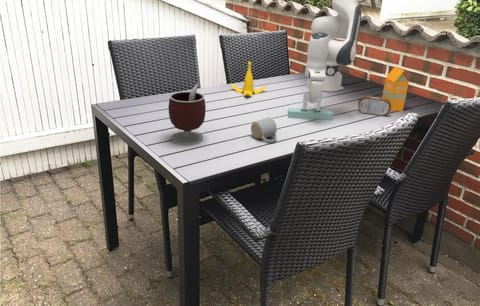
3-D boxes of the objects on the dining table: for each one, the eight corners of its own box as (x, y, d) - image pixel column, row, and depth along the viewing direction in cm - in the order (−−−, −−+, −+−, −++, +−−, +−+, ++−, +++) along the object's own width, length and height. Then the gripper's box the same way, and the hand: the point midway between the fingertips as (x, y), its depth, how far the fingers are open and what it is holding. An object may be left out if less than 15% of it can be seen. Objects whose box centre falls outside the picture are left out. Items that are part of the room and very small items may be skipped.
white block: (302, 109, 190) (304, 93, 187) (302, 108, 192) (303, 92, 189) (320, 110, 190) (322, 94, 187) (319, 109, 192) (321, 93, 188)
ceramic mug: (249, 135, 169) (250, 117, 166) (265, 132, 173) (266, 114, 170) (264, 145, 161) (266, 127, 158) (281, 141, 165) (283, 123, 162)
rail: (287, 114, 195) (288, 107, 194) (330, 116, 194) (331, 110, 193) (288, 117, 190) (288, 111, 189) (332, 120, 190) (333, 113, 189)
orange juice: (394, 105, 214) (402, 66, 206) (403, 110, 206) (411, 70, 198) (380, 105, 213) (387, 66, 205) (388, 111, 205) (396, 70, 197)
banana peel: (246, 99, 213) (248, 67, 206) (230, 89, 228) (231, 58, 221) (274, 96, 220) (277, 64, 213) (256, 87, 235) (258, 57, 228)
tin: (389, 115, 199) (392, 98, 196) (389, 117, 197) (392, 100, 193) (356, 111, 203) (359, 94, 200) (356, 112, 201) (359, 96, 197)
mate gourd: (194, 148, 155) (194, 96, 147) (162, 141, 160) (160, 90, 152) (213, 134, 168) (214, 86, 160) (182, 128, 173) (182, 81, 165)
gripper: (305, 65, 193) (302, 94, 199) (310, 76, 174) (307, 108, 180) (319, 66, 193) (316, 95, 199) (326, 77, 174) (322, 109, 180)
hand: (311, 101), depth 189 cm, fingers closed on white block, 2 cm apart
